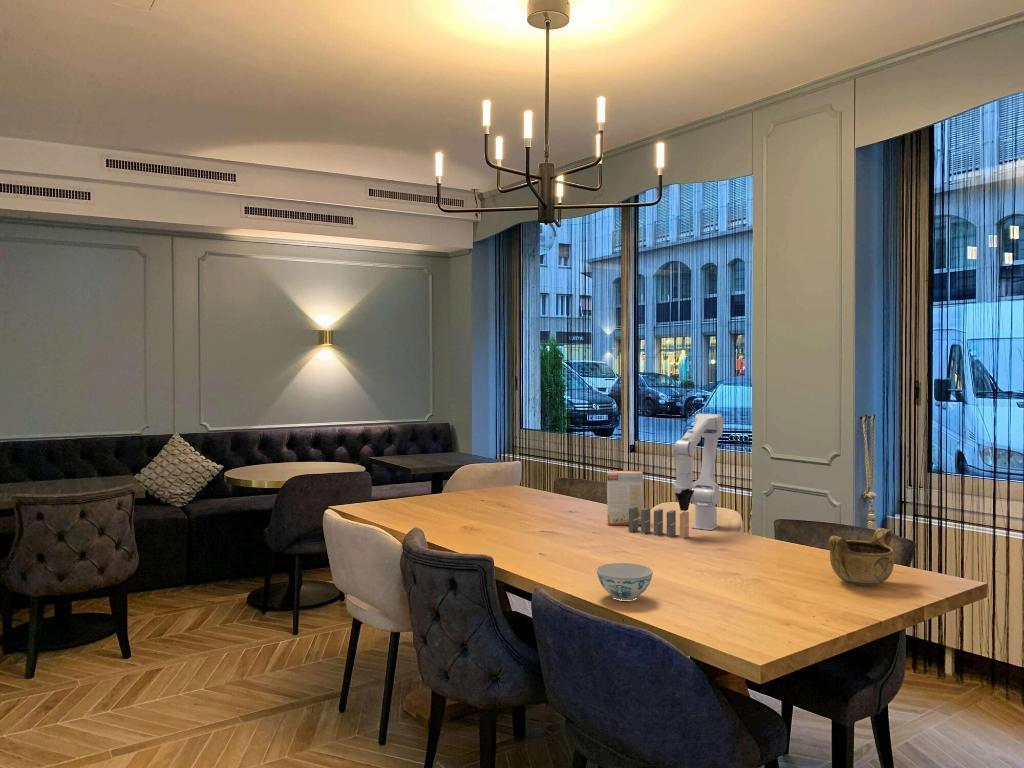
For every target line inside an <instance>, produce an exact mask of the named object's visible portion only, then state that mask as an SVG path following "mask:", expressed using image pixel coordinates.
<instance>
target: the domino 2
mask: <svg viewBox="0 0 1024 768" xmlns="http://www.w3.org/2000/svg"><path fill="white" fill-rule="evenodd" d="M661 533H662V534H663V533H664V509H663V508H657V509H656V510H653V536H656V535H658V536H660V535H662V534H661ZM659 534H660V535H659Z"/></svg>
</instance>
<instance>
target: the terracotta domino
mask: <svg viewBox="0 0 1024 768" xmlns="http://www.w3.org/2000/svg"><path fill="white" fill-rule="evenodd" d="M689 522H690V512H689V511H683V512H681V513H680V514H679V539H680V538H683V539H682V540H685V539H687V538H689V537H688V536H690V528H689V527H690V523H689ZM686 537H687V538H686Z"/></svg>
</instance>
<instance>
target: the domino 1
mask: <svg viewBox="0 0 1024 768" xmlns="http://www.w3.org/2000/svg"><path fill="white" fill-rule="evenodd" d="M649 531H650V532H651V507H643V509H642V510H641V526H640V534H641V533H647V532H649ZM650 532H649V533H650ZM647 534H648V533H647Z"/></svg>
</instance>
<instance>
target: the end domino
mask: <svg viewBox="0 0 1024 768" xmlns="http://www.w3.org/2000/svg"><path fill="white" fill-rule="evenodd" d="M636 530H637V531H639V525H638V507H636V506H634V507H631V508H629V525H628V532H629V531H630V532H629V533H632V532H633V531H635V532H637V531H636ZM633 533H634V532H633Z"/></svg>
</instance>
